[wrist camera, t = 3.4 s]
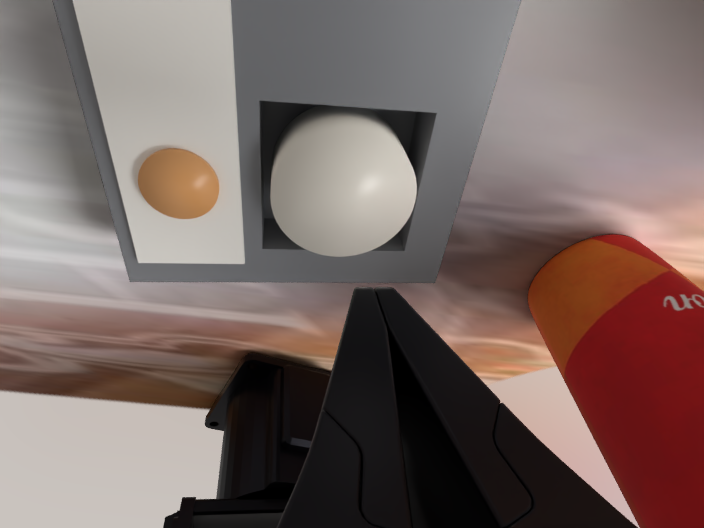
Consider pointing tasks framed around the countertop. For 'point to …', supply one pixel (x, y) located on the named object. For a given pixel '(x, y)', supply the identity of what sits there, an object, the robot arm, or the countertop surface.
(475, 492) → the robot arm
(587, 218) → the countertop surface
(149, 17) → the button board
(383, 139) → the button
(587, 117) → the countertop surface
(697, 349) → the coffee cup
